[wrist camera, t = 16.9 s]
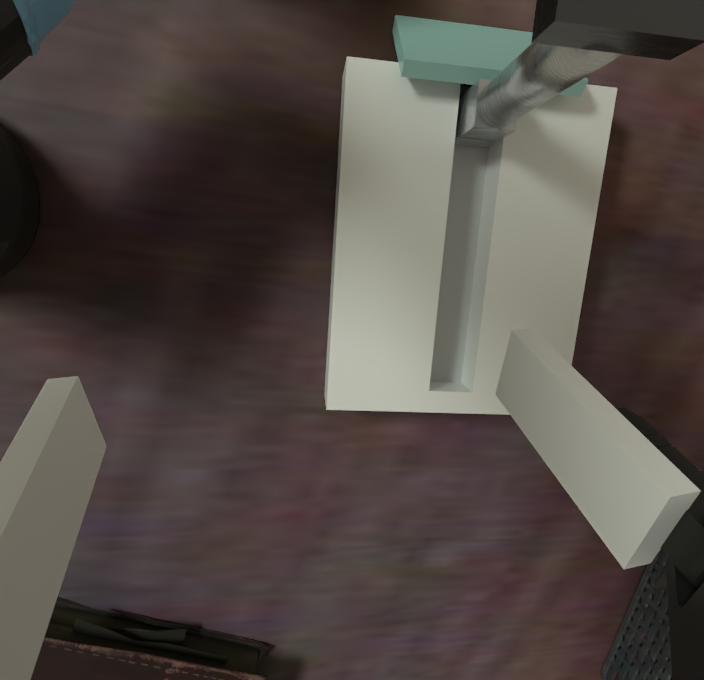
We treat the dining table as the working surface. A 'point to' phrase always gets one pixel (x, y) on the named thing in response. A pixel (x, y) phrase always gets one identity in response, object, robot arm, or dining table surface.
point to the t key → (574, 56)
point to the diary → (140, 649)
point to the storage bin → (643, 632)
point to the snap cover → (459, 51)
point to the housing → (453, 240)
